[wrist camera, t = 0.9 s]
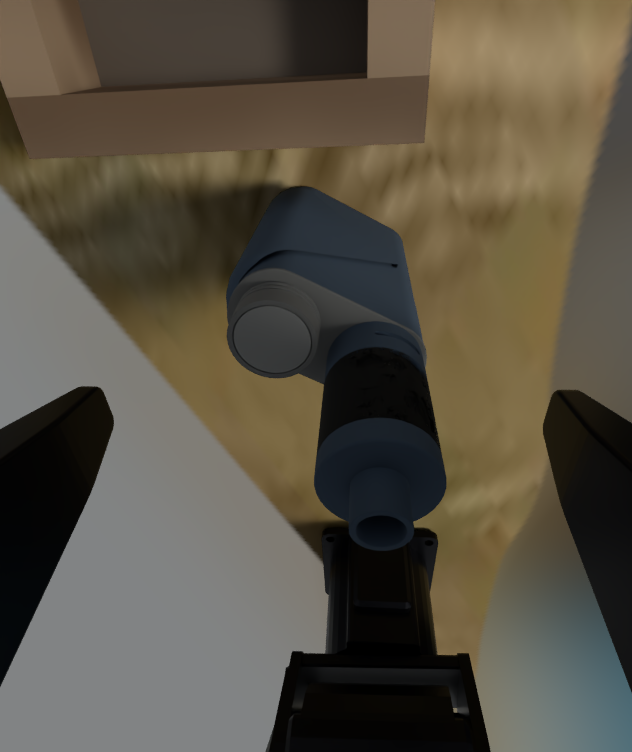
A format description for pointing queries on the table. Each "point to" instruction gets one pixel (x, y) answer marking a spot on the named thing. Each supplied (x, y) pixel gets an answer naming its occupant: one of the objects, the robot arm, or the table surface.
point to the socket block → (214, 74)
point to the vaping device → (344, 356)
